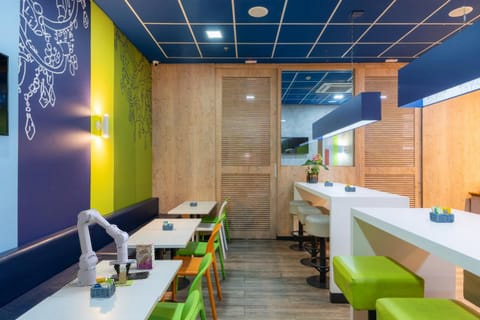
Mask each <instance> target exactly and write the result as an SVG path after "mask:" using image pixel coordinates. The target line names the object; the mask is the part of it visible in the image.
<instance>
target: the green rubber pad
mask: <svg viewBox="0 0 480 320" xmlns="http://www.w3.org/2000/svg"><path fill="white" fill-rule="evenodd" d="M133 282H134V280H128V281H127V282H126V283H119V281H116V282H115V283H116V287H115V288H118V286H120V287H127V286H128V287H129V286H132V285H133Z"/></svg>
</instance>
